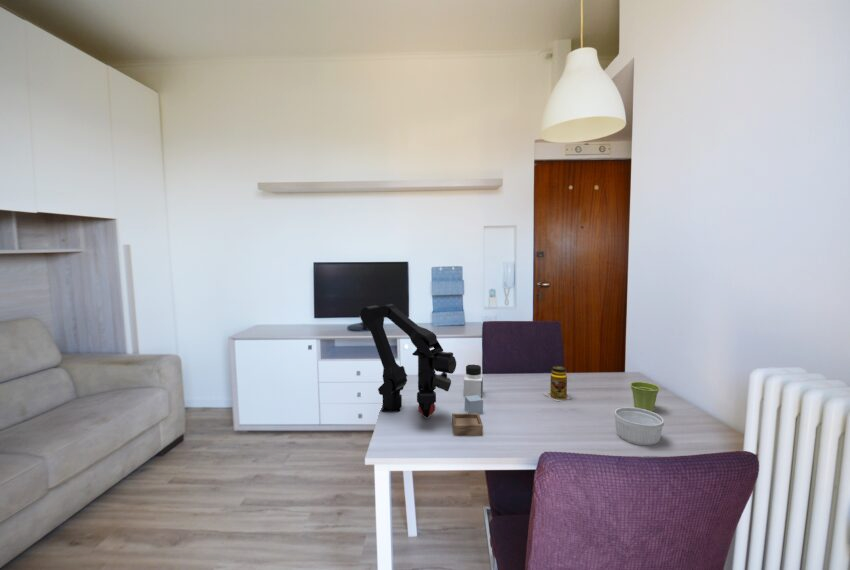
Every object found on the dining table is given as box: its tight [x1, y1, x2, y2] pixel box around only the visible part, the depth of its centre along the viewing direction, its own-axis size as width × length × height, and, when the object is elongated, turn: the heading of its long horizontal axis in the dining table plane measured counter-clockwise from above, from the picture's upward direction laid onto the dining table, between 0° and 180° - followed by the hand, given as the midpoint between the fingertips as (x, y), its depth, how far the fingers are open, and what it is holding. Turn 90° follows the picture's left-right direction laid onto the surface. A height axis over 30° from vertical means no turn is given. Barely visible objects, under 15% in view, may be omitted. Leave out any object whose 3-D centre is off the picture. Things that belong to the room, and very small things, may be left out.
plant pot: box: [629, 381, 661, 412], centre depth 136 cm, size 9×9×9 cm
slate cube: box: [464, 395, 484, 415], centre depth 136 cm, size 5×5×5 cm
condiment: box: [543, 365, 572, 402], centre depth 149 cm, size 7×8×12 cm
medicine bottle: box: [463, 363, 484, 399], centre depth 152 cm, size 7×7×12 cm
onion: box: [418, 403, 436, 417], centre depth 131 cm, size 6×6×8 cm
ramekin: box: [614, 406, 665, 446], centre depth 115 cm, size 13×13×7 cm
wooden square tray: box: [451, 412, 484, 437], centre depth 122 cm, size 9×9×4 cm
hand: (426, 412), depth 131 cm, fingers open, 8 cm apart
